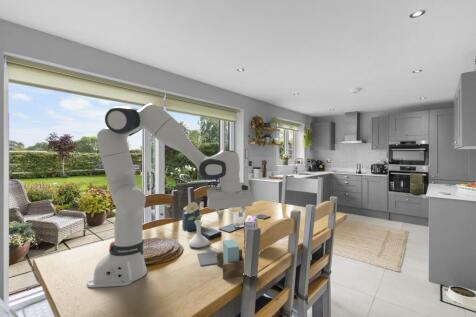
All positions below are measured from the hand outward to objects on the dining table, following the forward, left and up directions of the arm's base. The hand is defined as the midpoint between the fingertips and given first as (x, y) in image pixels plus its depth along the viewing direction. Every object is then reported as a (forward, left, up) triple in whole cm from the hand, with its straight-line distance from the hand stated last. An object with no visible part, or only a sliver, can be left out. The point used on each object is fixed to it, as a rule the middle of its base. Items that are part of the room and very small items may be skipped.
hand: (230, 217), depth 107 cm
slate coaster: (-8, +14, -24) cm, 29 cm away
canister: (-11, +66, -24) cm, 71 cm away
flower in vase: (-11, +33, -24) cm, 42 cm away
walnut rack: (+1, 0, -24) cm, 24 cm away
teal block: (0, 0, -24) cm, 24 cm away
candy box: (+17, +21, -24) cm, 36 cm away
